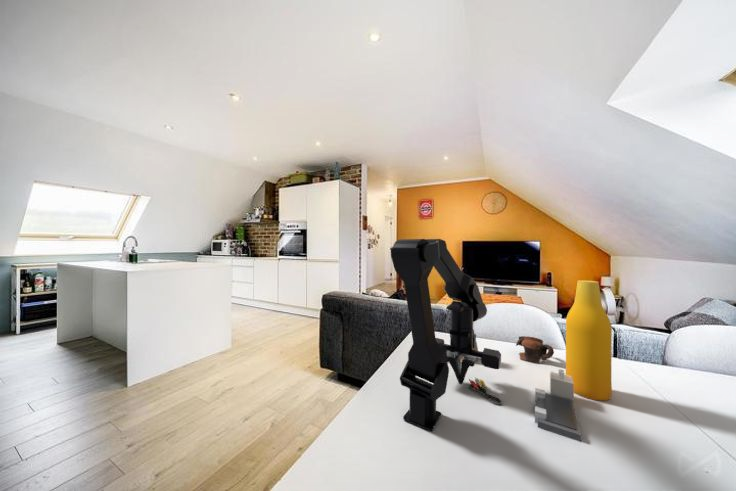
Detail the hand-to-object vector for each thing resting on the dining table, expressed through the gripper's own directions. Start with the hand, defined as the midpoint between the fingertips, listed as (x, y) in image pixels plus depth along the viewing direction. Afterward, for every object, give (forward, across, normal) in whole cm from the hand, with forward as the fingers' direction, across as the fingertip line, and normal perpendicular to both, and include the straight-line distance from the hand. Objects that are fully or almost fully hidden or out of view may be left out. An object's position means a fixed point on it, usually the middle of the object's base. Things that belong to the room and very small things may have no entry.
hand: (460, 383), depth 69 cm
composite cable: (+1, -6, 0) cm, 6 cm away
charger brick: (+1, -22, -9) cm, 24 cm away
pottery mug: (+1, -17, -33) cm, 37 cm away
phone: (+1, -21, 0) cm, 21 cm away
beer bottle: (+1, -28, -17) cm, 33 cm away
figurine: (+1, +3, -20) cm, 20 cm away
